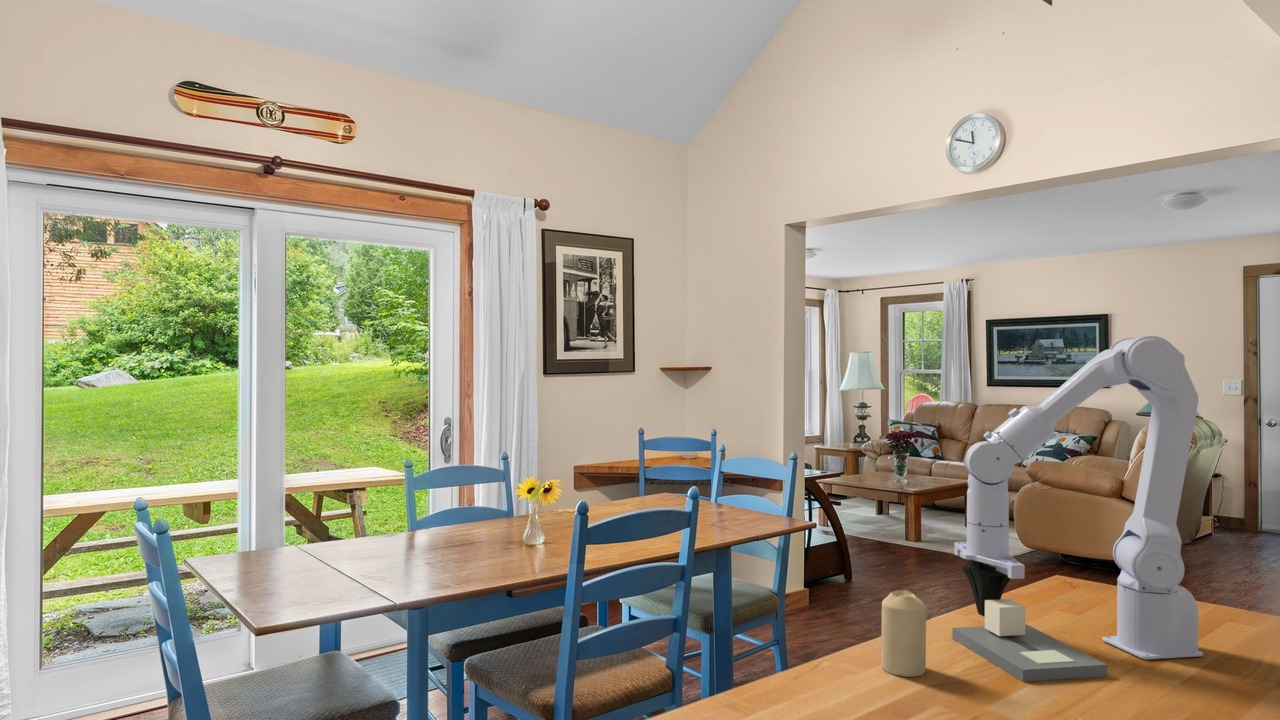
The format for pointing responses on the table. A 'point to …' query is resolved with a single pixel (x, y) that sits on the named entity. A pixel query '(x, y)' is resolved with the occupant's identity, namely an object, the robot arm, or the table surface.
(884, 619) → the candle
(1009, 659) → the slider board
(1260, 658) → the table surface
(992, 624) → the knob
